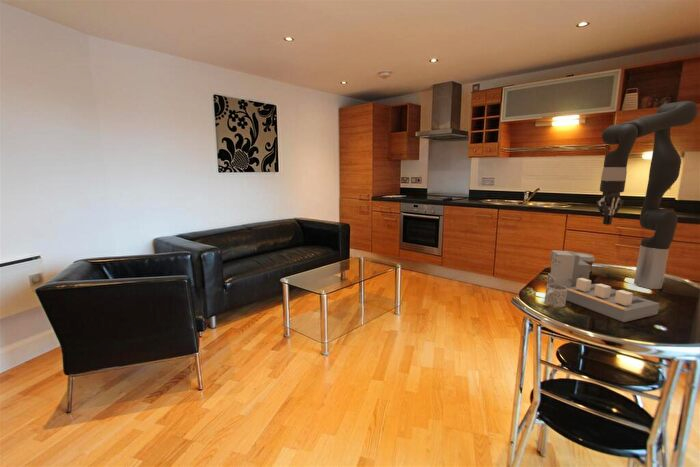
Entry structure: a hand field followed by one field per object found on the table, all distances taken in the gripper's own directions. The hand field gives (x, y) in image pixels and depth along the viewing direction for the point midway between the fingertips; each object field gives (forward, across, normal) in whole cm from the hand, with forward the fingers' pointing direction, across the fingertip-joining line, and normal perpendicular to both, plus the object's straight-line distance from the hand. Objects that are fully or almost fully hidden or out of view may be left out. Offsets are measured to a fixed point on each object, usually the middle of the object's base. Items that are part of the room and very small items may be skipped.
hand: (607, 224), depth 135 cm
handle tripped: (+24, +14, +10) cm, 29 cm away
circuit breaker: (+28, +5, -9) cm, 30 cm away
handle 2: (+24, +14, +17) cm, 33 cm away
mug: (+28, +28, +2) cm, 40 cm away
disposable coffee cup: (+29, -8, -14) cm, 33 cm away
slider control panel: (+28, +10, +10) cm, 32 cm away
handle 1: (+24, +14, +3) cm, 28 cm away
